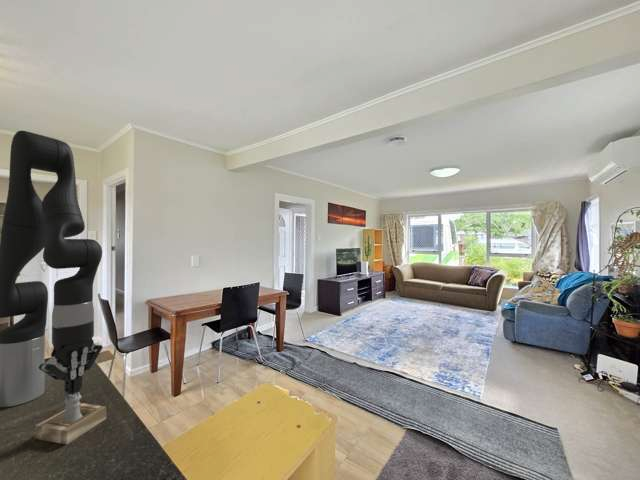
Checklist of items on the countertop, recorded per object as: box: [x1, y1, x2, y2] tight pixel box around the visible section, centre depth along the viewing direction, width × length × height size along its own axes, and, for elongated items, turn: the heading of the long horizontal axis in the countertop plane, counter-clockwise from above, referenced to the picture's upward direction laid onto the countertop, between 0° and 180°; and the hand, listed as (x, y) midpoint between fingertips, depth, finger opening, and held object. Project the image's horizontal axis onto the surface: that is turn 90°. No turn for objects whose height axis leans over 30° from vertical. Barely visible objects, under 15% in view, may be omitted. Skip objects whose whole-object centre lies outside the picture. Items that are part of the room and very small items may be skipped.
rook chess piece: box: [62, 391, 83, 425], centre depth 65 cm, size 4×4×8 cm
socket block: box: [35, 402, 107, 445], centre depth 65 cm, size 9×9×3 cm
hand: (73, 392), depth 65 cm, fingers closed
